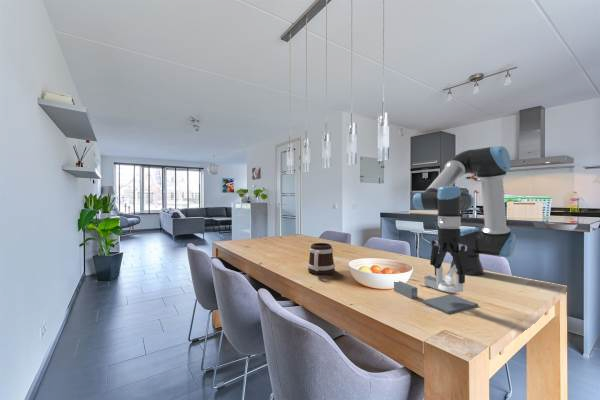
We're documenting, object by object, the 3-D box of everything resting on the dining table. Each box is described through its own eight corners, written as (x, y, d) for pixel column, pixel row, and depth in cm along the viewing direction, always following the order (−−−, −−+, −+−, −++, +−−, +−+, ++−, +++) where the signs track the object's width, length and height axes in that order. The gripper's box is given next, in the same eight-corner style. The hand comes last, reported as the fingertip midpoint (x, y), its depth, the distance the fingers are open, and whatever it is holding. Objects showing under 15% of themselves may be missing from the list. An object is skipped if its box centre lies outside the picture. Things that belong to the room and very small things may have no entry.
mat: (451, 296, 110) (450, 294, 110) (478, 306, 99) (478, 303, 99) (421, 302, 103) (421, 300, 103) (447, 313, 93) (447, 311, 93)
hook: (479, 278, 97) (466, 268, 96) (457, 303, 98) (444, 294, 97) (465, 268, 104) (452, 259, 103) (445, 292, 106) (432, 283, 104)
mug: (311, 267, 158) (311, 241, 158) (337, 269, 153) (337, 242, 153) (301, 276, 139) (301, 247, 139) (330, 279, 134) (329, 249, 134)
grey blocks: (429, 284, 125) (429, 275, 125) (448, 291, 115) (448, 281, 115) (393, 290, 116) (393, 281, 116) (411, 298, 107) (411, 288, 107)
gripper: (419, 225, 109) (419, 281, 109) (468, 230, 90) (468, 298, 90) (433, 224, 112) (433, 279, 112) (483, 229, 93) (483, 295, 93)
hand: (449, 288), depth 101 cm, fingers closed on hook, 8 cm apart
